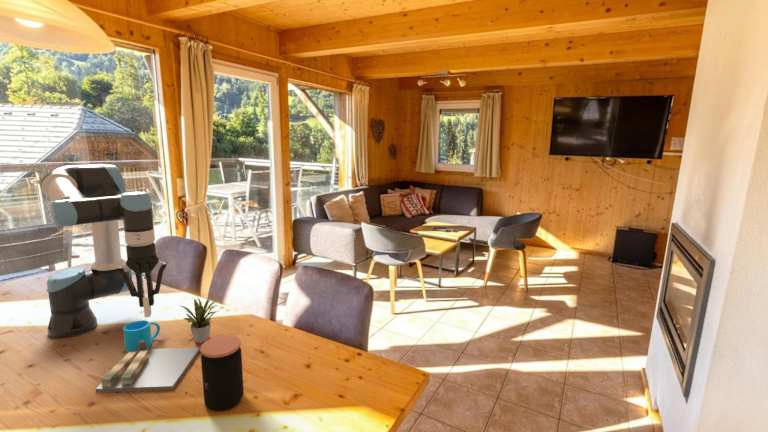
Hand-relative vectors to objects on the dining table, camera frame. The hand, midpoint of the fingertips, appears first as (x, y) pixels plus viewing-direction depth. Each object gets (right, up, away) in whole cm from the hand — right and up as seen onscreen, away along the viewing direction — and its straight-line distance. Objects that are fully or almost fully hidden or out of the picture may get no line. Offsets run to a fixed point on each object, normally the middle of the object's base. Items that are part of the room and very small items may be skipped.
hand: (148, 315), depth 121 cm
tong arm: (-6, -18, +3) cm, 20 cm away
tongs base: (-9, -18, +5) cm, 21 cm away
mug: (-15, -16, +21) cm, 31 cm away
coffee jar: (+27, -23, -8) cm, 37 cm away
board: (-2, -19, +6) cm, 20 cm away
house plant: (+6, -16, +25) cm, 31 cm away
